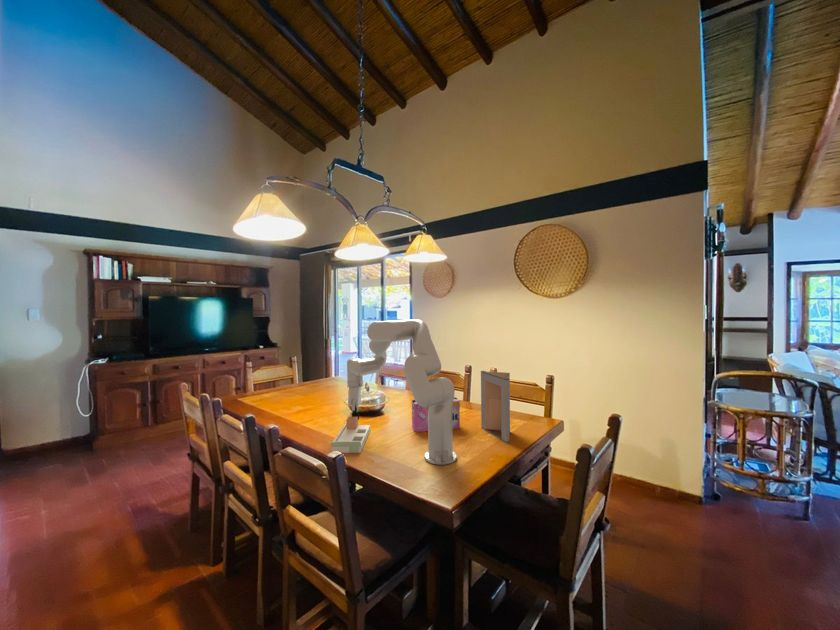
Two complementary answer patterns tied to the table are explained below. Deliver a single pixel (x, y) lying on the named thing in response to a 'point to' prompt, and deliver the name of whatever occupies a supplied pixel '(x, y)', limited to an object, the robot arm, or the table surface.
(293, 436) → the table surface
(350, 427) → the block
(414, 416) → the gum box
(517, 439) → the table surface
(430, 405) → the robot arm
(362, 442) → the tray
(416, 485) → the table surface
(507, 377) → the cabinet
